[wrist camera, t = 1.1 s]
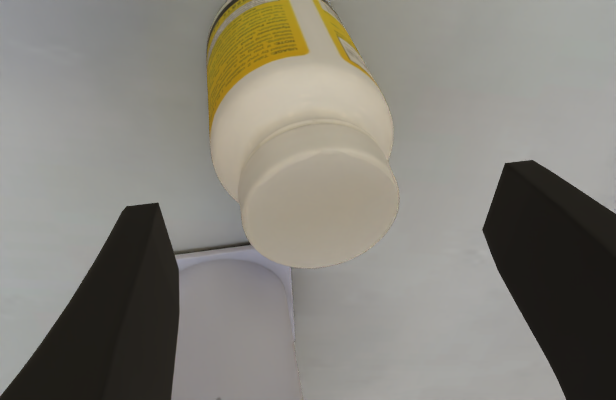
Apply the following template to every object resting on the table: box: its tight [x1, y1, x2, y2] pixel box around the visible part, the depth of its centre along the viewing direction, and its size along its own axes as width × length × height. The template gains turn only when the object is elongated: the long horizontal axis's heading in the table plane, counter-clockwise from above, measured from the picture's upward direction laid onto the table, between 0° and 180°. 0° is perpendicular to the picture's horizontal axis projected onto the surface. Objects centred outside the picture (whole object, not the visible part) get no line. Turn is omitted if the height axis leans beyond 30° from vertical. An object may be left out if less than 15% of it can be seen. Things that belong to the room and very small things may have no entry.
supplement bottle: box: [207, 0, 399, 269], centre depth 16 cm, size 5×5×10 cm
